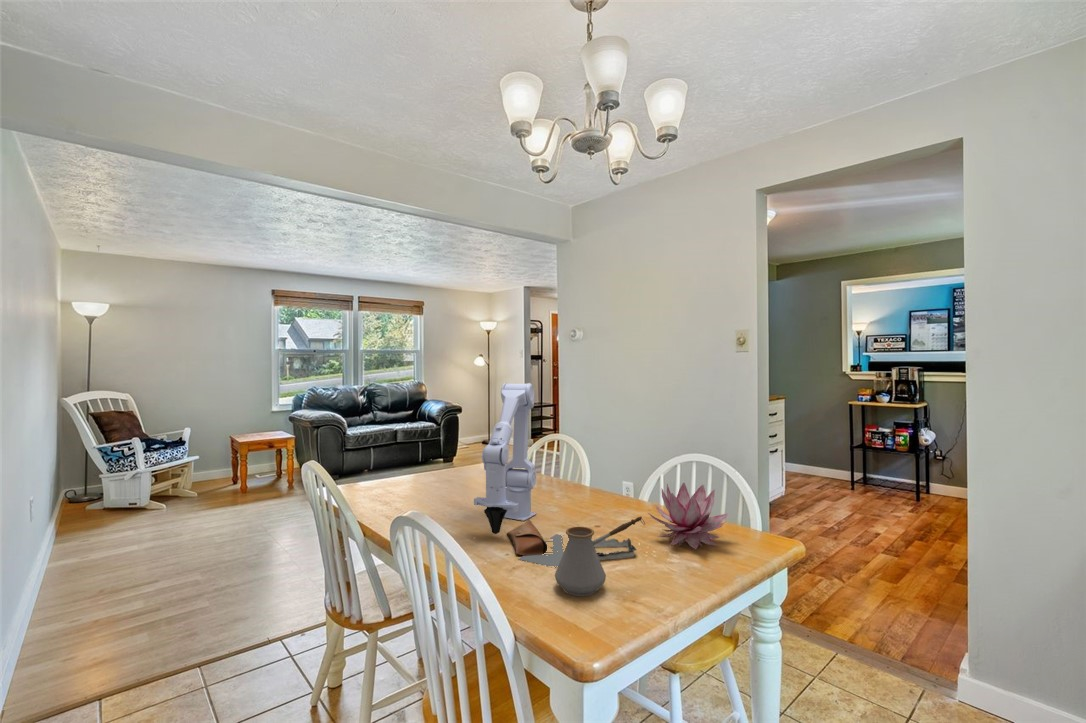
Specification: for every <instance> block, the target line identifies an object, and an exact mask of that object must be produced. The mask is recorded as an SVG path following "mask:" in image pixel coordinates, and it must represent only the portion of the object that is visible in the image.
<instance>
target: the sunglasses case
mask: <svg viewBox="0 0 1086 723" xmlns="http://www.w3.org/2000/svg"><path fill="white" fill-rule="evenodd" d="M506 535H507V536H508V537H509V539H510V540H511V542H512V545H513V546H514V549H515V552H516V555H519V556H524V555H540V554H544V553H545V552H546V551H547V544H546V542H545V541H546V540H545V539H544V538H543V536H542V534H541V533H540V532H539V530H538V529H537V527H536V526H535V525H534V524H533V522H532V521H531V520H530V519H527V520H525V522H524V523H523V524H521V525H519V526H517V527H515V528H513V529H511V530H510V531H508V532H506Z"/></svg>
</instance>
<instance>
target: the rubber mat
mask: <svg viewBox="0 0 1086 723" xmlns="http://www.w3.org/2000/svg"><path fill="white" fill-rule="evenodd" d="M561 535H562V534H558V533H555V534H554V535H552V536H551V537H550V539H553V541H546V540H544V541H545V542H553V545H554V546H553V547H550V548H551V549H553V550H552V551H553V552H545V553H553V554H544V555H542V554H540V555H521V556H520V557H519V558H517V559H518V561H521V560H522V562H526V561H527V562H526V563H530V562H532V563H531V564H535V563H536V565H539V564H541V565H540V566H543V565H546V566H545V567H548V566H554V567H555V566H556V567H557V566H558V565H559V563H560V560H561V558H562V555H563V553H564V552H563V550H564V549H562V548H563V546H562V544H563V538H562V536H561ZM561 538H562V539H561ZM561 541H562V542H561ZM563 545H564V544H563ZM557 551H558V552H557ZM546 555H548V556H546ZM556 567H555V568H554V569H557V568H558V567H557V568H556Z"/></svg>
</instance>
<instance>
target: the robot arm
mask: <svg viewBox="0 0 1086 723" xmlns="http://www.w3.org/2000/svg"><path fill="white" fill-rule="evenodd" d="M500 397H501V398H500V399H501V402H502V408H501V413H500V417H499V422H497V423H495V424H494V427H493V429H492V432H491V436H490V437H489V443H488V444H487V445H485V446H484V447H483V449H482V454H481V459H482V463H483V469H484V471H485V497H481V496H477V497H475V498H473V505H474V506H484V507H486V508H485V509H484V510H483V513H484V514H485V516H486V518H487V520H488V522H489V526H490V529H491V534H494V535H497V534H498V533H500V532H501V528H502V525H503V524H502V523H503V520H504V518H507V519H512V520H518V521H525V522H526V521H527V520H529V519H530V518H532V517H534V516H536V515H537V513H536V512H534V511H533V512H532V498H531V496H532V490H533V489H534V487H535V486H536V482H537V474H536V467H535V466H536V465H534V463H532V462H531V460H529V459H528V449H529V448H528V445H529V419H530V418H529V416H530V410H531V409H533V408H534V406H535V390H534V385H532V383H531V382H528V383H509V382H504V383H503V384H502V385H501V389H500ZM512 423H513V428H512V426H511V425H512ZM512 434H513V435H512ZM512 436H513V438H512ZM511 438H512V441H513V442H512V459H511V460H510V461H509V458H510V457H509V456H510V446H509V444H510V440H511ZM508 461H509V462H508Z"/></svg>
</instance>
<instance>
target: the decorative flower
mask: <svg viewBox="0 0 1086 723" xmlns="http://www.w3.org/2000/svg"><path fill="white" fill-rule="evenodd" d="M665 492H666V493H665ZM715 492H716V491H715V489H713V490H711V492H710V493H709V494H708V495H707V494H706V493H707V492H706V488H705V484H702V485H700V486H699V488H697V490H695V492H694V493H693V494H692V495H691V497H690V494H689V491H688V488H687V485H686V483H685V482H682V484H681V485H680V487H679V490H678V493H677V495H676V496H675V494H674V493H673V492H672V493H671V490H670V488H669V485H668V483H666V491H664V489H663V488H661V498H662V500H663V503H664V506H665V509H666V510H667V512H668V514H667V513H666V512H665V511H663V509H661V508H659V506H657V505H656V504H654V507H655V508H656V510H657V512H658V513H659V514H660V515H661V516H662V518H664V519H665V520H666V521H668V522H666V521H664V520H661V519H659V518H658V517H655V516H654V515H652V514H651V513H650V512H647V514H648V515H649V516H650V517H651V518H652V519H653V520H655V521H657V522H659V523H660V524H662V525H664V527H666V528H667V529H661V530H662V531H664V532H666V534H662V535H659V536H657V538H667V537H671V536H674V537H673V539H672V541H671V542H670V543H669V545H670V546H672V545H673V546H674V545H677V544H678V546H681V545H682V544H683V543H684V542H686V543H687V544H688V545H689V547H690V548H693V549H695V550H696V549H698V547H699V546H701V547H702V546H703V545H702V543H704V544H706V545H710V546H714V547H716V546H718V545H717V543H716V542H714V540H712V539H721V538H720V537H719V536H717V535H715V534H712V533H710V532H712V531H713V532H714V531H715V530H718V529H719V528H721V527H723V525H725V524H726V522H723V521H724V520H725V519H727V518H728V516H729V513H728V512H727V513H722V514H719V515H714V516H710V515H711V514H712V513H711V512H712V510H713V507H714V503H715ZM667 532H669V533H667Z"/></svg>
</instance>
